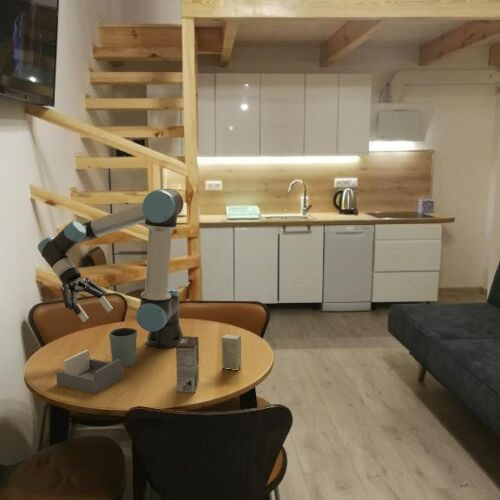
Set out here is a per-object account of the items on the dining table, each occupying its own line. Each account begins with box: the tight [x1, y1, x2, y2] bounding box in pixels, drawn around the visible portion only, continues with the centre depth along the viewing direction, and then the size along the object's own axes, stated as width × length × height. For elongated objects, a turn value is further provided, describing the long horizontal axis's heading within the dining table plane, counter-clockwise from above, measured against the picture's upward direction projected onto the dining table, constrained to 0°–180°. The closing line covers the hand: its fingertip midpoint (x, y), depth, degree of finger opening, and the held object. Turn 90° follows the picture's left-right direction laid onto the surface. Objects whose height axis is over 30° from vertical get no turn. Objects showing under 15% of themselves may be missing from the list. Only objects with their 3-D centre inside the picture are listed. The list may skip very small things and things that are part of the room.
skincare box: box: [221, 333, 242, 369], centre depth 177 cm, size 6×4×12 cm
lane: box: [55, 357, 124, 395], centre depth 165 cm, size 16×14×7 cm
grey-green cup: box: [108, 327, 138, 368], centre depth 181 cm, size 10×10×12 cm
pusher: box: [62, 349, 90, 375], centre depth 167 cm, size 1×11×7 cm, turn 156°
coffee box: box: [175, 335, 200, 393], centre depth 161 cm, size 9×6×16 cm
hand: (98, 315), depth 183 cm, fingers open, 13 cm apart
